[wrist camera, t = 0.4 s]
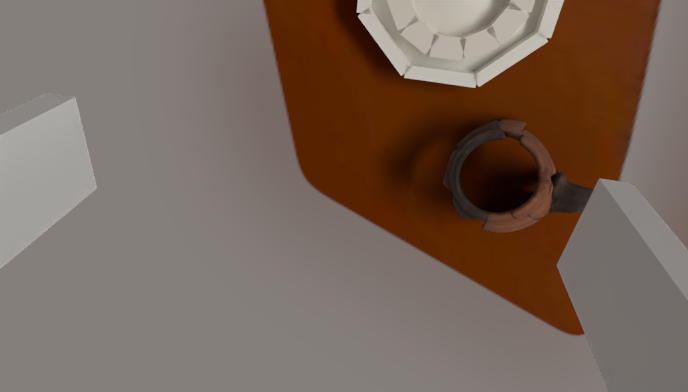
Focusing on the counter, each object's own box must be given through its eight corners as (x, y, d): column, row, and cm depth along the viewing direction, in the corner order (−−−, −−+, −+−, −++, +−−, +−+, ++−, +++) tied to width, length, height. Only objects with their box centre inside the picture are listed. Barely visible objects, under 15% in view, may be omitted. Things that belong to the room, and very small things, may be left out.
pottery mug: (446, 217, 43) (431, 227, 35) (460, 120, 42) (447, 108, 34) (583, 239, 38) (600, 256, 31) (603, 132, 37) (624, 122, 30)
